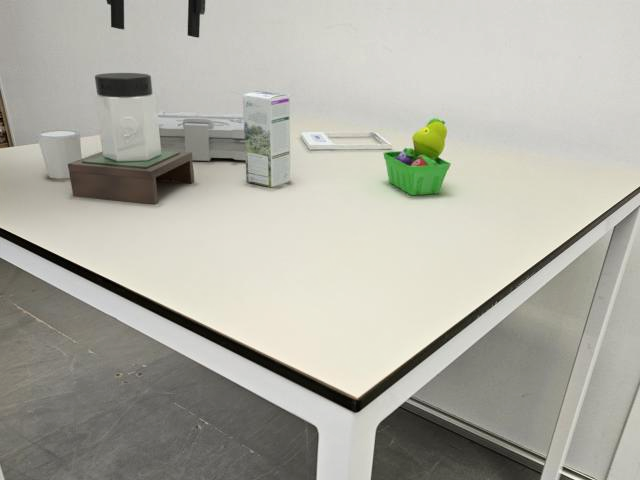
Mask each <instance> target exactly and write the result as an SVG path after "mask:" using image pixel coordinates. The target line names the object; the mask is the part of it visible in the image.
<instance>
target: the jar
mask: <svg viewBox="0 0 640 480" xmlns="http://www.w3.org/2000/svg"><path fill="white" fill-rule="evenodd" d="M94 81H95V88H96V93H95V94H94V95H93V96H94V102H95V111H96V117H97V124H98V129H99V130H98V131H99V139H100V144H101V150H102V151H101V152H103V156H104V157H106V158H109V159H111V160H114V161H117V162H129V161H148V160H150V159H153V158H155V157H157V156H160V155H161V144H160V134H159V124H158V114H159V113H158V105H157V96H156V93H154V92H153V84H152V83H153V82H152V76H151V74H148V73H147V74H145V73H140V72H139V73H138V72H109V73H99V74H96V75H94Z"/></svg>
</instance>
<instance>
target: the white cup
mask: <svg viewBox="0 0 640 480" xmlns="http://www.w3.org/2000/svg"><path fill="white" fill-rule="evenodd" d="M36 138H37V141H38V144H39V148H40V151H41V154H42V159H43V161H44V165H45V169H46V173H47V176H48V177H49V178H51V179H57V180H60V179H61V180H63V179H70V175H69V169H68V164H69V163H71V162H74V161H77V160H80V159H83V158H82V143H81V133H80V132H79V131H76V130H66V129H63V130H62V129H60V130H57V129H56V130H47V131H42V132H38V133H37V134H36Z"/></svg>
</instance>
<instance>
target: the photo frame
mask: <svg viewBox="0 0 640 480" xmlns="http://www.w3.org/2000/svg"><path fill="white" fill-rule="evenodd" d="M330 137H331V138H333V137H334V138H335V137H336V138H337V137H339V138H340V137H345V138H346V137H349V138H350V137H374V139H376V140H377V141H378V142H380V143H337V144H336V143H334V142H333V141H332V140H331V139H330ZM300 138H301V140H302V141H303V142H304V144H305V145H306V146H307V148H308V150H309V151H310V150H389V149H390V150H392V148H393V144H392V143H391V142H390V141H388V140H387V139H386V138H384V137H383V136H382V135H381V134H379V133H378V132H377V131H300Z"/></svg>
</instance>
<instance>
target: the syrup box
mask: <svg viewBox="0 0 640 480" xmlns="http://www.w3.org/2000/svg"><path fill="white" fill-rule="evenodd" d="M242 109H243V114H244V135H245V158H246V160H245V178H246V179H245V180H246V183H249V184H254V185H259V186H264V187H268V188H275V187H278V186H281V185H285V184H288V183H289V182H291V180H292V178H291V176H292V175H291V95H290V94H289V93H282V92H273V91H263V90H261V91H260V90H257V91H256V90H255V91H250V92H247V93H244V94H242Z"/></svg>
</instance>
